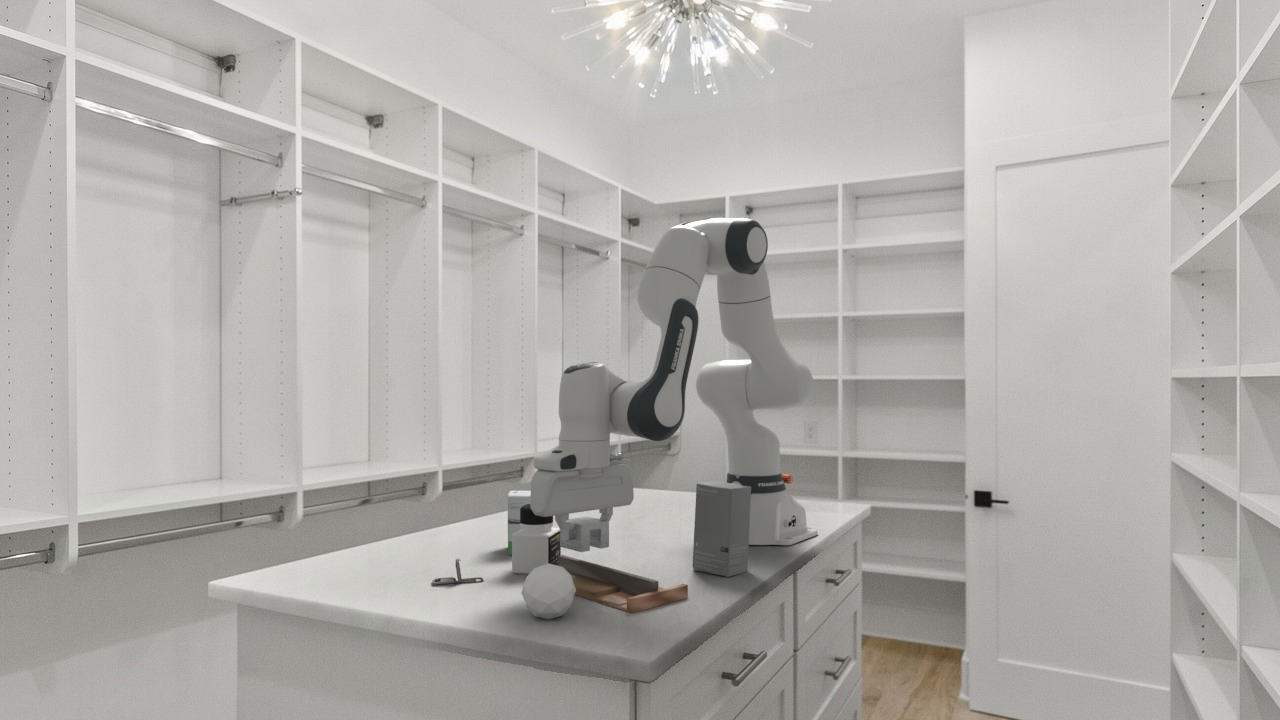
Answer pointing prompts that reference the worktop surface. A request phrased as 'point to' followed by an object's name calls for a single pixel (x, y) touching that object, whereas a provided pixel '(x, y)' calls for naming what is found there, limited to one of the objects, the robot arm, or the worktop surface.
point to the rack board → (618, 586)
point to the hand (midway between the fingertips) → (584, 537)
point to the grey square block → (587, 534)
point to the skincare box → (721, 528)
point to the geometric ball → (548, 591)
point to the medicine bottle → (534, 542)
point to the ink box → (515, 512)
